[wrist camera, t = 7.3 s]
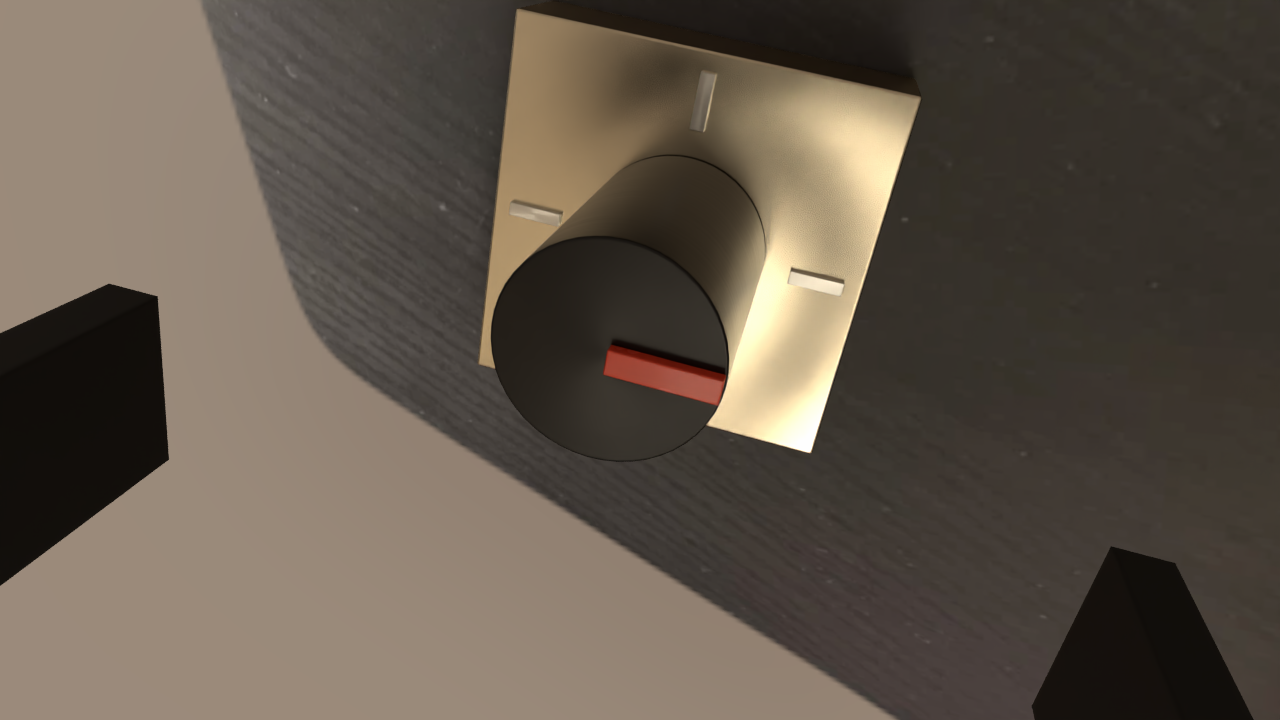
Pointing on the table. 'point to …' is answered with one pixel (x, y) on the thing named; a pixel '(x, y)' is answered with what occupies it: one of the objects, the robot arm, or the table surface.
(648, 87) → the panel
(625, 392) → the knob
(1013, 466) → the table surface
